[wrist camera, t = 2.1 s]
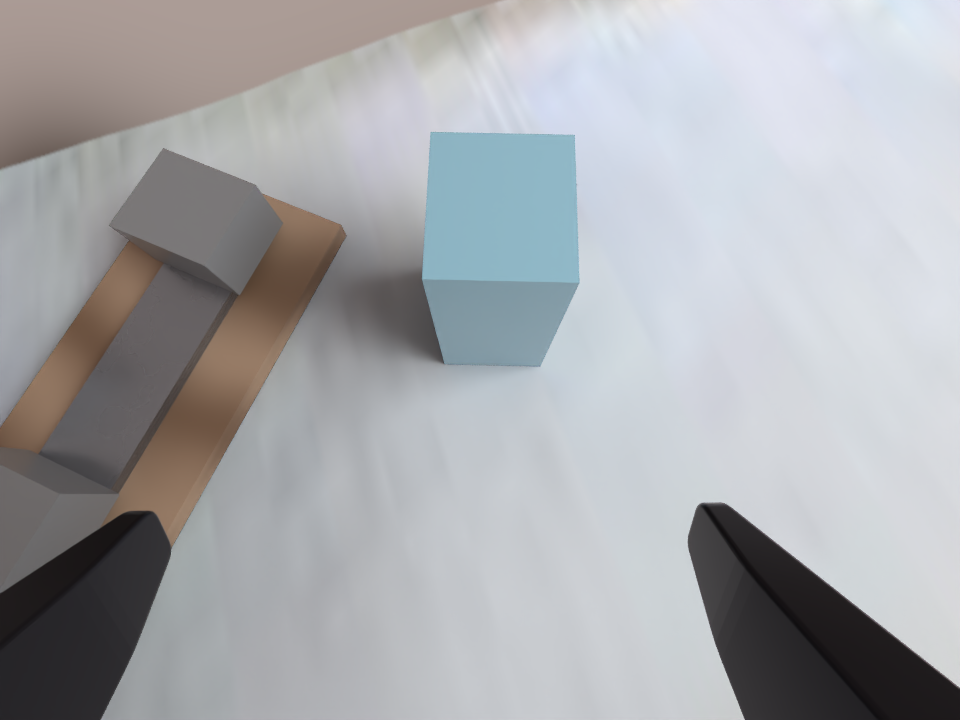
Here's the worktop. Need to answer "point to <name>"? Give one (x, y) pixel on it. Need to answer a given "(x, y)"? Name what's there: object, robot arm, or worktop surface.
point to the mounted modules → (176, 242)
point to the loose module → (500, 244)
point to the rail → (138, 378)
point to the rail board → (212, 384)
